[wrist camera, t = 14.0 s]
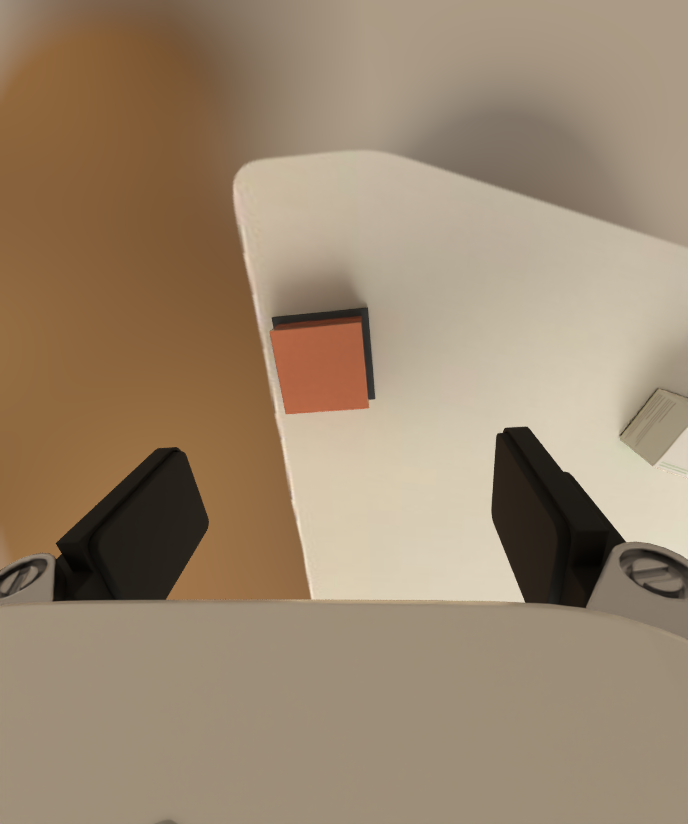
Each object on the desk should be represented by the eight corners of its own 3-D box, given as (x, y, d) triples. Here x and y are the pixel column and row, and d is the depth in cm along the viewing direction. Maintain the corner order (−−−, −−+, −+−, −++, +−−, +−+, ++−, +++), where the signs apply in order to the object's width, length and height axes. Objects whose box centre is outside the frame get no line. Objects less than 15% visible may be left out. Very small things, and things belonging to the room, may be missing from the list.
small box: (616, 439, 35) (651, 468, 30) (657, 386, 32) (702, 409, 28) (668, 457, 35) (711, 488, 31) (713, 406, 33) (766, 432, 28)
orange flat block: (362, 315, 31) (361, 322, 28) (369, 395, 34) (368, 408, 31) (278, 323, 32) (269, 331, 29) (292, 401, 35) (285, 414, 32)
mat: (367, 307, 31) (367, 308, 31) (375, 397, 35) (375, 399, 34) (272, 317, 32) (271, 318, 32) (289, 404, 36) (288, 405, 35)
